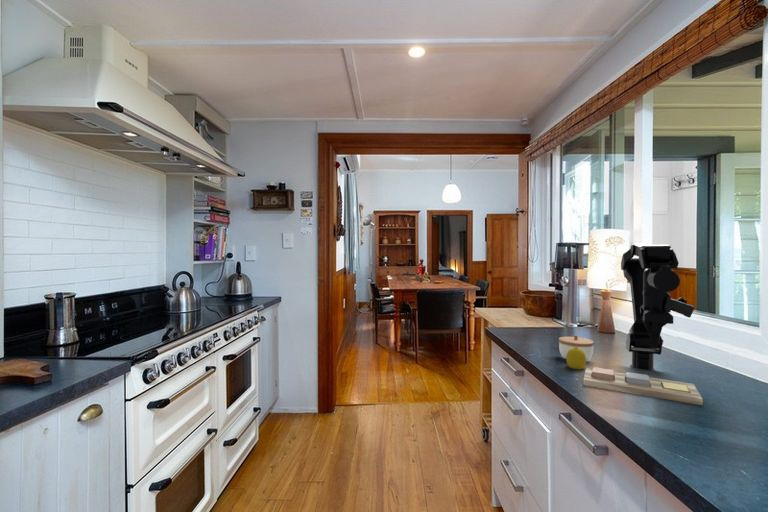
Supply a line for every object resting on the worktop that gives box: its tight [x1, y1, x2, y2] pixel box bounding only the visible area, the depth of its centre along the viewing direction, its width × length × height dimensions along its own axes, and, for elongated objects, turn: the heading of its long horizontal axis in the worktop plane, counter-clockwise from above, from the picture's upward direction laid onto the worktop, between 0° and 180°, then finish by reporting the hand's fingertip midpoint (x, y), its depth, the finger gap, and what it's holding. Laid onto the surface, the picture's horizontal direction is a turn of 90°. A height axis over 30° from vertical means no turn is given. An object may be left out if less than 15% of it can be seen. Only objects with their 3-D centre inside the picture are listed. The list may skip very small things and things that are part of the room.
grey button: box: [625, 371, 650, 387], centre depth 99 cm, size 5×5×3 cm
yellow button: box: [662, 382, 689, 393], centre depth 95 cm, size 5×5×3 cm
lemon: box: [565, 347, 587, 370], centre depth 116 cm, size 6×6×8 cm
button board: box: [582, 367, 704, 406], centre depth 99 cm, size 12×25×3 cm, turn 58°
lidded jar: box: [558, 334, 595, 362], centre depth 127 cm, size 11×11×9 cm
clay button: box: [592, 366, 615, 381], centre depth 103 cm, size 5×5×3 cm
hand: (655, 343), depth 104 cm, fingers closed
